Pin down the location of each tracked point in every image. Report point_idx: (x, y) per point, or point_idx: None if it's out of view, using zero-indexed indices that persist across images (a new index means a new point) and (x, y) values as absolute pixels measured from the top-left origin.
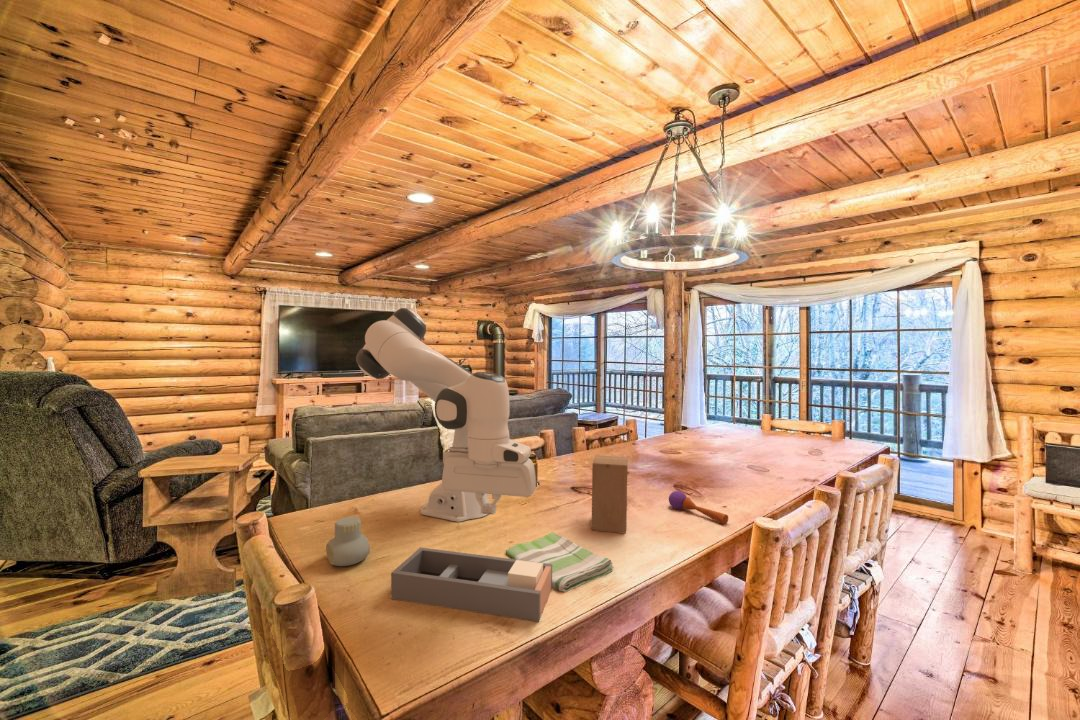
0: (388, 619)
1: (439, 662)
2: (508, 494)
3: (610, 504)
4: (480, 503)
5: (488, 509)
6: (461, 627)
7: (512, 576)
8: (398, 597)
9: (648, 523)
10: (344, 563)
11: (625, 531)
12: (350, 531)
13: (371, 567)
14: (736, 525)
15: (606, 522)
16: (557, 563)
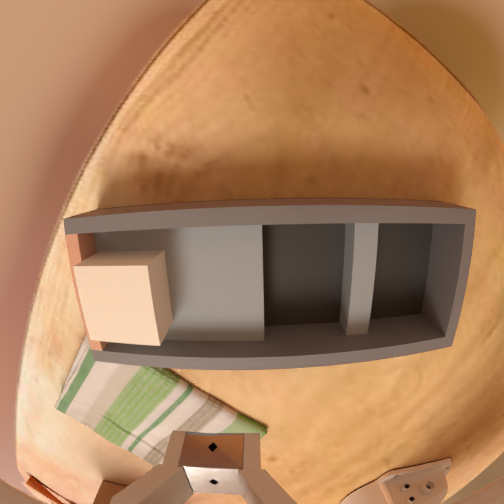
0: (410, 129)
1: (240, 33)
2: (14, 493)
3: None
4: (260, 481)
5: (201, 451)
6: (246, 135)
7: (136, 263)
8: (429, 201)
9: (93, 494)
10: None
11: (102, 482)
12: None
13: (499, 295)
14: (23, 472)
15: None
16: (139, 406)
